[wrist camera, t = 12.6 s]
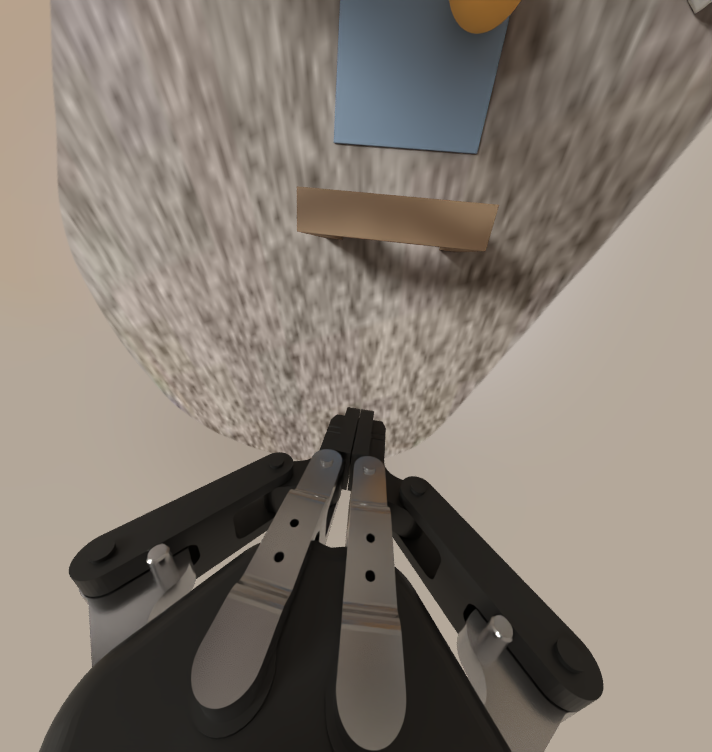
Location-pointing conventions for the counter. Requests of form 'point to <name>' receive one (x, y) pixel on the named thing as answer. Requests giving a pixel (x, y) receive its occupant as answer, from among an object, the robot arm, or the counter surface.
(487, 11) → the ball
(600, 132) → the counter surface
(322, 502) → the robot arm
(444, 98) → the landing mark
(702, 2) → the syrup box
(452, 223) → the bridge
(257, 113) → the counter surface
